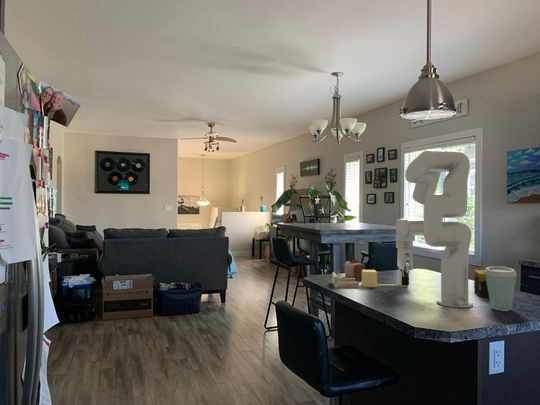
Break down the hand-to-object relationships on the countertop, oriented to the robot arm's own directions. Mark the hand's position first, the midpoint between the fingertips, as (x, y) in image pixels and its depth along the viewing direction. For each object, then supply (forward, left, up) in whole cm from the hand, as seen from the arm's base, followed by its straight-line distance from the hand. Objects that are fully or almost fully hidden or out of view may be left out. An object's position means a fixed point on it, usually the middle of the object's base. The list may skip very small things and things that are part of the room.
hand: (404, 284), depth 188 cm
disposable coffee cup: (-39, -24, -1) cm, 46 cm away
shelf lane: (0, +27, -1) cm, 27 cm away
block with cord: (0, +9, -1) cm, 9 cm away
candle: (-16, -31, -1) cm, 35 cm away
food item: (+19, +20, -1) cm, 27 cm away
